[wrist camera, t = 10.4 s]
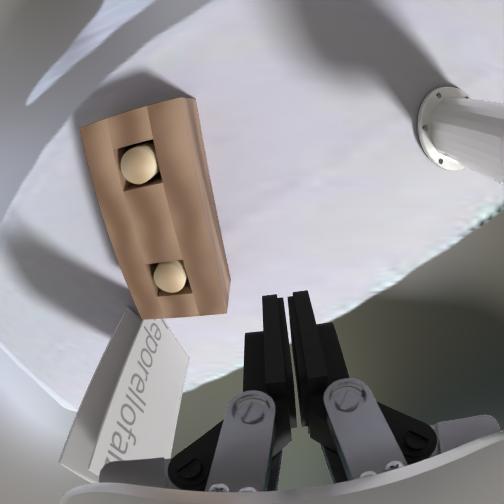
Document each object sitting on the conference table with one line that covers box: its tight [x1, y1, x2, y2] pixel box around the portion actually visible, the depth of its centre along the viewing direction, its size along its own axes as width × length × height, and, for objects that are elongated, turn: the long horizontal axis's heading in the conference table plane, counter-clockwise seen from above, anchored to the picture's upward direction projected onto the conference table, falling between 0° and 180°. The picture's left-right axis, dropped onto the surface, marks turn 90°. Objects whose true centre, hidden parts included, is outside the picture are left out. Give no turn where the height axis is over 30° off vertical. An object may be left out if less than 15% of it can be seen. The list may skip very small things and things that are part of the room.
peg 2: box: [154, 260, 187, 293], centre depth 39 cm, size 4×4×8 cm
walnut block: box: [80, 97, 231, 320], centre depth 36 cm, size 12×26×8 cm, turn 8°
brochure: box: [59, 307, 190, 483], centre depth 37 cm, size 14×6×30 cm, turn 19°
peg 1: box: [120, 140, 160, 184], centre depth 32 cm, size 4×4×8 cm
